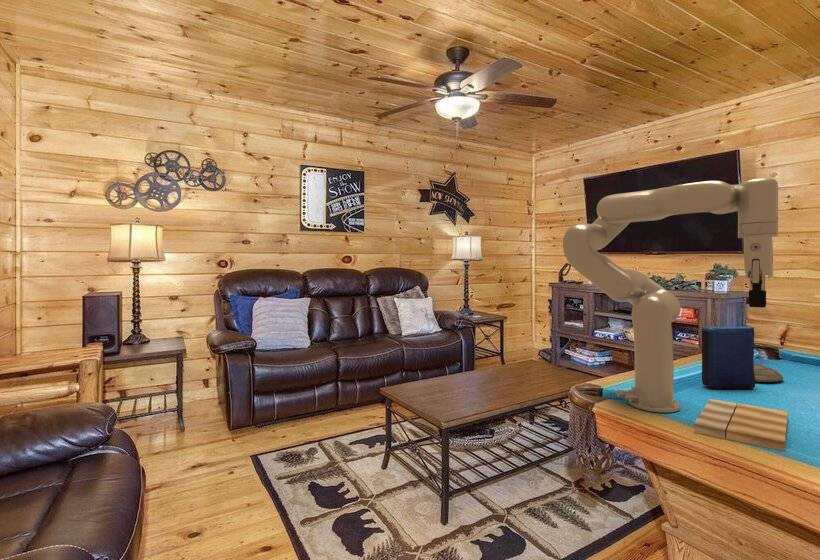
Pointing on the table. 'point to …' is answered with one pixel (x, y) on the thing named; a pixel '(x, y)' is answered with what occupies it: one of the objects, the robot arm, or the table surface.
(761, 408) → the oak plank
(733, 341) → the book
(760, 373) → the flying saucer
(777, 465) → the table surface
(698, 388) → the table surface
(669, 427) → the table surface
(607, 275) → the robot arm
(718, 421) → the ash board
